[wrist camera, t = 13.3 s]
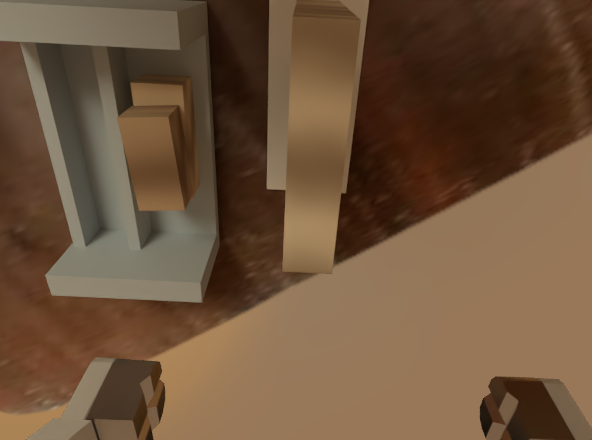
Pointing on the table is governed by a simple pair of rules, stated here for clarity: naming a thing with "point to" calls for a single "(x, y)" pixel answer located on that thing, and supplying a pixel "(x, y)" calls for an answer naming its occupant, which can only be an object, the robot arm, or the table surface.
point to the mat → (279, 87)
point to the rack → (118, 140)
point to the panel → (317, 130)
